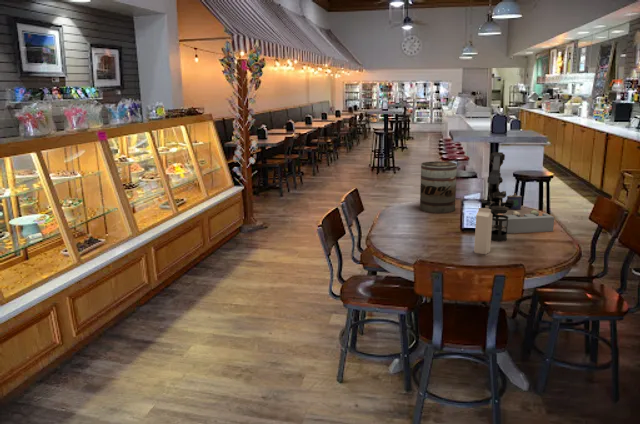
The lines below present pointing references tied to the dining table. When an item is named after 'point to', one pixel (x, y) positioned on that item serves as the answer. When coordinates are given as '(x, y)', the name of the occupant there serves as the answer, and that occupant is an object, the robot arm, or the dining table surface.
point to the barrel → (438, 187)
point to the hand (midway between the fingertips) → (498, 216)
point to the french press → (499, 222)
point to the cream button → (516, 213)
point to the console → (528, 223)
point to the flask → (515, 201)
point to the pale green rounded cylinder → (534, 212)
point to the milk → (483, 231)
